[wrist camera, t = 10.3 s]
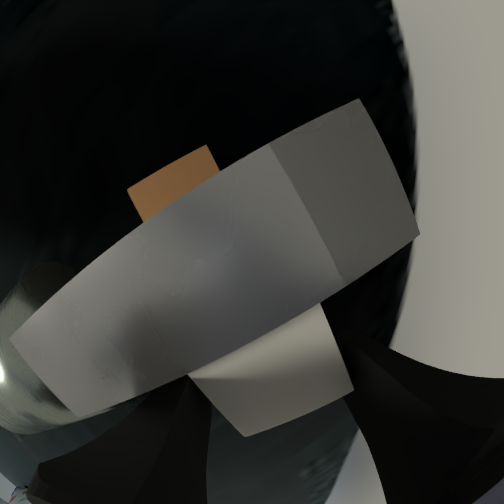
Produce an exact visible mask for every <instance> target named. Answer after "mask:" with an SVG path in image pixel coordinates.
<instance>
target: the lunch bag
mask: <svg viewBox="0 0 504 504" xmlns="http://www.w3.org/2000/svg"><path fill="white" fill-rule="evenodd" d="M27 489H28V488H22V487H16V488H15V490H14V492H13V493H12V497H11V500H10V501H9V503H8V504H31V503H30V502H29V501H28V499H27V497H26V495H25V494H26V492H27Z"/></svg>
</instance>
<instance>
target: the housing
mask: <svg viewBox="0 0 504 504" xmlns="http://www.w3.org/2000/svg"><path fill="white" fill-rule="evenodd" d="M419 234H420V232H419V229H418V226H417V223H416V220H415V217H414V214H413V212H412V209H411V206H410V204H409V201H408V198H407V196H406V193H405V191H404V188H403V186H402V183H401V181H400V178H399V176H398V174H397V171H396V169H395V167H394V165H393V162H392V160H391V158H390V156H389V154H388V152H387V150H386V148H385V145H384V143H383V141H382V139H381V137H380V135H379V134H378V132H377V130H376V128H375V126H374V124H373V122H372V120H371V118H370V117H369V115H368V113H367V111H366V109H365V108H364V106H363V104H362V103H361V101H360V99H357V100H354V101H352V102H350V103H348V104H346V105H343V106H341V107H339V108H337V109H335V110H333V111H330V112H328V113H326V114H324V115H322V116H320V117H318V118H316V119H314V120H312V121H310V122H308V123H306V124H304V125H302V126H300V127H298V128H296V129H294V130H292V131H290V132H289V133H287V134H285V135H283V136H281V137H279V138H277V139H276V140H274V141H272V142H270V143H268V144H266V145H265V146H263V147H261V148H259V149H258V150H256V151H254V152H252V153H251V154H249V155H247V156H245V157H244V158H242V159H240V160H239V161H237V162H235V163H233V164H232V165H230V166H228V167H227V168H225V169H224V170H222V171H220V172H219V173H217V174H215V175H214V176H212V177H211V178H209V179H207V180H206V181H204V182H203V183H201V184H200V185H198V186H197V187H195V188H193V189H192V190H190V191H189V192H187V193H186V194H184V195H183V196H181V197H180V198H178V199H177V200H175V201H174V202H172V203H171V204H169V205H168V206H167V207H165V208H164V209H162V210H161V211H159V212H158V213H156V214H155V215H154V216H152V217H151V218H149V219H148V220H147V221H145V222H144V223H143V224H141V225H140V226H138V227H137V228H136V229H134V230H133V231H132V232H130V233H129V234H128V235H126V236H125V237H124V238H122V239H121V240H120V241H118V242H117V243H116V244H114V245H113V246H112V247H111V248H109V249H108V250H107V251H106V252H104V253H103V254H102V255H100V256H99V257H98V258H97V259H96V260H94V261H93V262H92V263H91V264H89V265H88V266H87V267H86V268H85V269H83V270H82V271H81V272H80V271H78V270H76V269H74V268H72V267H70V266H68V265H65V264H62V263H58V262H44V263H40V264H37V265H35V266H34V267H32V268H31V269H29V270H28V271H27V272H26V273H25V274H24V276H23V277H22V278H21V279H20V280H19V281H18V283H17V284H16V285H15V286H14V287H13V289H12V290H11V291H10V292H9V294H8V295H7V296H6V297H5V299H4V300H3V301H2V303H1V304H0V425H1V426H2V427H4V428H6V429H8V430H10V431H12V432H15V433H19V434H34V433H38V432H42V431H46V430H50V429H53V428H57V427H60V426H64V425H67V424H70V423H73V422H77V421H80V420H83V419H86V418H89V417H92V416H95V415H98V414H101V413H104V412H106V411H109V410H112V409H115V408H116V407H118V406H120V405H121V404H122V403H124V402H125V401H126V400H128V399H131V398H133V397H136V396H138V395H141V394H143V393H146V392H148V391H150V390H153V389H155V388H157V387H160V386H162V385H164V384H166V383H169V382H171V381H173V380H175V379H178V378H180V377H182V376H184V375H186V374H189V373H191V372H193V371H195V370H197V369H199V368H201V367H203V366H205V365H207V364H209V363H211V362H213V361H216V360H218V359H220V358H222V357H223V356H225V355H227V354H229V353H231V352H233V351H235V350H237V349H239V348H241V347H243V346H245V345H247V344H249V343H250V342H252V341H254V340H256V339H258V338H260V337H261V336H263V335H265V334H267V333H269V332H271V331H272V330H274V329H276V328H278V327H279V326H281V325H283V324H285V323H286V322H288V321H290V320H292V319H293V318H295V317H297V316H298V315H300V314H302V313H304V312H305V311H307V310H309V309H310V308H312V307H314V306H315V305H317V304H318V303H320V302H322V301H323V300H325V299H327V298H328V297H330V296H331V295H333V294H334V293H336V292H338V291H339V290H341V289H342V288H344V287H345V286H347V285H348V284H350V283H352V282H353V281H355V280H356V279H358V278H359V277H361V276H362V275H364V274H365V273H367V272H368V271H370V270H371V269H372V268H374V267H375V266H377V265H378V264H380V263H381V262H383V261H384V260H385V259H387V258H388V257H390V256H391V255H393V254H394V253H395V252H397V251H398V250H399V249H401V248H402V247H404V246H405V245H406V244H408V243H409V242H410V241H412V240H413V239H414V238H416V237H417V236H418V235H419Z"/></svg>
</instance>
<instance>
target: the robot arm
mask: <svg viewBox="0 0 504 504" xmlns="http://www.w3.org/2000/svg"><path fill="white" fill-rule="evenodd" d="M336 344H337V346H338V349H339V351H340V354H341V356H342V359H343V361H344V364H345V367H346V369H347V372H348V374H349V377H350V380H351V382H352V385H353V388H354V391H352V392H350V393H348V394H346V395H344V396H342V397H343V398H344V400H345V402H346V404H347V406H348V408H349V410H350V412H351V413H352V415H353V417H354V419H355V421H356V423H357V424H358V426H359V428H360V430H361V432H362V434H363V436H364V437H365V440H366V442H367V444H368V446H369V449H370V452H371V454H372V457H373V460H374V462H375V465H376V468H377V471H378V474H379V478H380V481H381V484H382V487H383V491H384V495H385V499H386V502H387V504H504V378H485V377H475V376H468V375H463V374H458V373H453V372H449V371H445V370H442V369H438V368H435V367H432V366H429V365H426V364H423V363H421V362H418V361H416V360H413V359H411V358H409V357H407V356H404V355H402V354H400V353H398V352H396V351H394V350H392V349H390V348H388V347H386V346H384V345H382V344H380V343H379V342H377V341H375V340H373V339H371V338H369V337H368V336H366V335H364V334H362V333H360V332H358V331H356V330H354V329H352V328H351V329H346V330H341V331H336ZM211 415H212V408H211V401H210V400H209V399H208V398H207V397H206V395H205V394H204V393H203V392H202V391H201V390H200V388H199V387H198V386H197V385H196V384H195V383H194V381H193V380H192V379H191V378H190V377H189V375H188V374H186V375H184V376H182V377H180V378H178V379H175V380H173V381H171V382H169V383H166V384H164V385H162V386H160V387H157V388H155V389H154V390H153V391H152V392H151V393H150V394H149V395H148V396H147V397H146V399H145V400H144V401H143V402H142V403H141V404H140V405H139V406H138V407H137V408H136V409H135V410H133V411H132V412H131V413H130V414H129V415H128V416H126V417H125V418H124V419H123V420H122V421H120V422H119V423H118V424H117V425H115V426H114V427H112V428H111V429H109V430H108V431H106V432H105V433H104V434H102V435H101V436H99V437H98V438H96V439H94V440H93V441H91V442H89V443H87V444H86V445H84V446H82V447H80V448H78V449H76V450H74V451H72V452H69V453H67V454H65V455H62V456H59V457H57V458H54V459H51V460H48V461H46V462H42V463H39V465H38V467H37V469H36V472H35V474H34V476H33V478H32V480H31V482H30V485H29V487H28V489H27V492H26V494H25V495H26V497H27V499H28V501H29V502H30V503H31V504H207V490H206V462H207V452H208V443H209V434H210V425H211ZM0 504H8V503H7V502H5V501H4V500H2V499H1V498H0Z"/></svg>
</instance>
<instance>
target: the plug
mask: <svg viewBox="0 0 504 504" xmlns="http://www.w3.org/2000/svg"><path fill="white" fill-rule="evenodd" d="M219 172H220V170H219V169H218V167H217V165H216V163H215V161H214V159H213V157H212V155H211V153H210V151H209V149H208V147H207V145H205V146H203V147H201V148H199V149H197V150H195V151H193V152H191V153H189V154H187V155H185V156H183V157H182V158H180V159H178V160H176V161H174V162H172V163H171V164H169V165H167V166H165V167H164V168H162V169H160V170H158V171H157V172H155V173H153V174H152V175H150V176H148V177H147V178H145V179H143V180H142V181H140V182H138V183H137V184H135V185H134V186H132V187H130V188H129V189H127V191H128V193H129V195H130V197H131V199H132V201H133V203H134V205H135V207H136V209H137V211H138V212H139V214H140V216H141V218H142V220H143V222H145V221H147V220H148V219H149V218H151V217H152V216H154V215H155V214H156V213H158V212H159V211H161V210H162V209H164V208H165V207H167V206H168V205H169V204H171V203H172V202H174V201H175V200H177V199H178V198H180V197H181V196H183V195H184V194H186V193H187V192H189V191H190V190H192V189H193V188H195V187H197V186H198V185H200V184H201V183H203V182H204V181H206V180H207V179H209V178H211V177H212V176H214V175H215V174H217V173H219ZM188 375H189V377H190V378H191V379H192V380H193V381H194V383H195V384H196V385H197V386H198V387H199V388H200V390H201V391H202V392H203V393H204V394H205V395H206V397H207V398H208V399H209V400H210V401H211V402H212V403H213V404H214V405H215V407H216V408H217V409H218V410H219V411H220V412H221V413H222V414H223V415H224V416H225V417H226V418H227V420H228V421H229V422H230V423H231V424H232V425H233V426H234V427H235V428H236V429H237V430H238V431H239V432H240V433H241V434H242V435H243V436H244V437H247V436H250V435H253V434H256V433H259V432H262V431H265V430H267V429H270V428H273V427H275V426H278V425H281V424H283V423H286V422H288V421H291V420H293V419H295V418H298V417H300V416H302V415H305V414H307V413H309V412H311V411H314V410H316V409H318V408H320V407H322V406H324V405H326V404H328V403H331V402H333V401H335V400H337V399H339V398H340V397H342V396H344V395H346V394H348V393H350V392H352V391H354V388H353V385H352V382H351V380H350V377H349V374H348V372H347V369H346V367H345V364H344V361H343V359H342V356H341V354H340V351H339V349H338V346H337V344H336V341H335V339H334V336H333V334H332V331H331V329H330V326H329V324H328V321H327V319H326V317H325V314H324V312H323V309H322V307H321V305H320V303H318V304H317V305H315V306H314V307H312V308H310V309H309V310H307V311H305V312H304V313H302V314H300V315H298V316H297V317H295V318H293V319H292V320H290V321H288V322H286V323H285V324H283V325H281V326H279V327H278V328H276V329H274V330H272V331H271V332H269V333H267V334H265V335H263V336H261V337H260V338H258V339H256V340H254V341H252V342H250V343H249V344H247V345H245V346H243V347H241V348H239V349H237V350H235V351H233V352H231V353H229V354H227V355H225V356H223V357H222V358H220V359H218V360H216V361H213V362H211V363H209V364H207V365H205V366H203V367H201V368H199V369H197V370H195V371H193V372H191V373H189V374H188Z"/></svg>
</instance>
